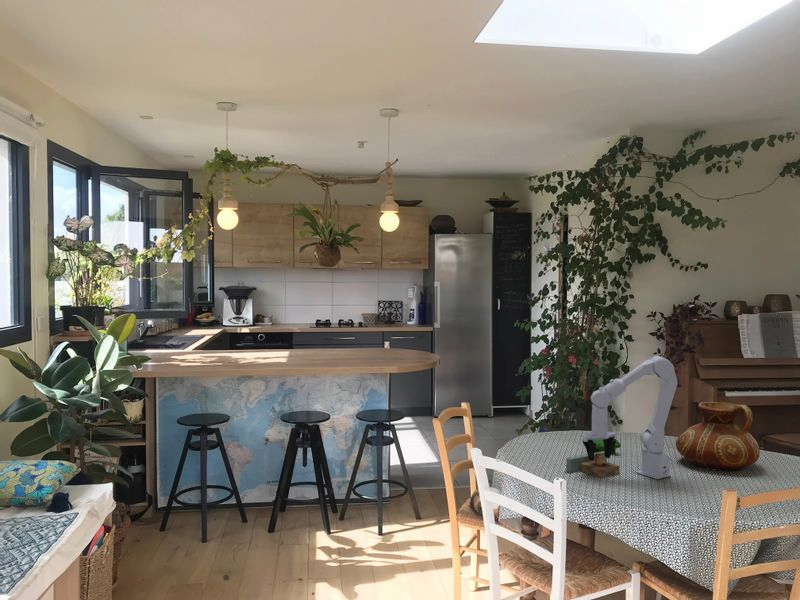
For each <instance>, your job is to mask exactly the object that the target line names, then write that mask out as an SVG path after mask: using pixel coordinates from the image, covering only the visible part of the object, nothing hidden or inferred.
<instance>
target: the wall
mask: <svg viewBox="0 0 800 600" xmlns="http://www.w3.org/2000/svg"><path fill="white" fill-rule="evenodd" d="M597 453H603V461H605V462H608V458H606V457H605V454H604V452H603V451H602V452H597ZM565 459H566V460H565V461H566V464H565V467H566V468H565V469H566V470H565V471H566V472H567V473H570V474H571V473H575V472H581V471H580V463H583V462H588V461H594V460H595V453H594V460H589V458H588V454H582V455H577V456H571V457H567V458H565Z"/></svg>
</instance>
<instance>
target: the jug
mask: <svg viewBox="0 0 800 600" xmlns="http://www.w3.org/2000/svg"><path fill="white" fill-rule="evenodd" d="M697 407H698V409H699V410H700V413H701V416H702V417H703V421H702V422H700V423H697V424H695V425H692V426H690V427H688V428H687V429H686V430H685V431H683V432H682V433H681V434H680V435H679V436H678V437H677V439H676V440H675V447H676V450H677V452H678V454H680V456H682V457H684V458H685V459H687V460H688V461H690V462H691V463H692V464H694V465H696V466H698V467H700V466H701V468H703V467H704V468H705V469H708V468H709V469H708V470H712V469H715V471H720V470H722V471H721V472H740V471H742V470H745V469H746V468H749V467H751V466H752V465H754V464H756V463H757V461H758V460H759V457H760V453H761V452H760V451H761V450H760V447H759V443H758V442H757V440H756V439H755V438H754V437H753V436H752V434H751V433H749V429H750V428H751V425H752V422H753V419H754V418H753V411H752V410H751V408H750V407H749V406H747V405H746V404H740V405H739V404H735V403H730V402H721V401H720V402H719V401H718V402H717V401H702V402H700V403H698V404H697ZM741 410H742V411H743V413H744V421H743V424H742V426H741V427H740V426H738V425H737V424H736V421H737V418H738V416H739V414H740V412H741ZM704 468H703V469H704Z"/></svg>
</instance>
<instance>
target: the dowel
mask: <svg viewBox="0 0 800 600" xmlns="http://www.w3.org/2000/svg"><path fill="white" fill-rule="evenodd" d="M595 466H599V467H603V453H595Z"/></svg>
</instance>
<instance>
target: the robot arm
mask: <svg viewBox="0 0 800 600" xmlns="http://www.w3.org/2000/svg"><path fill="white" fill-rule="evenodd" d="M655 375H656V376H657V377H658V379H659V381H660V382H661V385H660V387H659V392H658V395H657V399H656V402H655V405H654V408H653V412H652V415H651V418H650V422H649V423H648V424H647V425H646V427H645V428H646V429H645V430H644V431H643V432H642V434H641V436H640V441H641V443H642V444H643V446H641V447H642V448H641V470H637V471H636V474H640V475H644V476H645V477H649V478H653V479H655V480H659V479H664V478H668V477H671V473H670V469H671V466H670V465H671V462H670V461H671V460H670V456H669V455H668V454H666V453H665V452H664V451H663V449H664V447H665V440H664V438H665V426H666V423H667V419H668V416H669V413H670V410H671V406H672V402H673V399H674V397H675V393H676V389H677V387H678V384H679V383H678V379H677V378H678V377H677V376H676V375H677V374H676V371H675V366H674V365H673V364H672V362H671V361H670V360H669V359H667V358H664V357H662V356H660V355H653V356H651V357H650V358H649V359H646V360H645V361H643V362H642V363H641V364H639V365H637V367H635V368H634V369H632V370H631V371H630V372H629V373H627V374H626V375H625V376H623V377H622V378H614V379H613V378H612V379H610V380H609V383H606V385H604V386H601V387H599V390H595V391H593V392H592V394H591V396H590V401H591V402H592V405H591V408H592V410H591V433H589V434H584V435H581V437H582V438H581V441H582V444H583V446H584V448H585V450H586V453H587V454H588V458H589V460H594V451H595V446H596V443H594V442H593V440H602V439H603V443H604V454H605V457H606V458H607V459H610V458H611V454H612V453H611V452H612V449H613V447H614V445H615V444H616V440H617V437H618V436H617V433H616V432H613V431H612V432H608V430H609V429H608V425H609V424H608V422H609V421H608V417H609V416H608V413H609V412H608V406H609V405H610V403H611V401H613V400H615V399H616V398H619V396H621V395H622V394H623V393H625V392H626V390H627V387H628V386H630V385H631V384H633V383H634V382H636V381H638V380H639V379H641V378H642V377H644V376H655ZM615 439H616V440H615Z"/></svg>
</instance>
